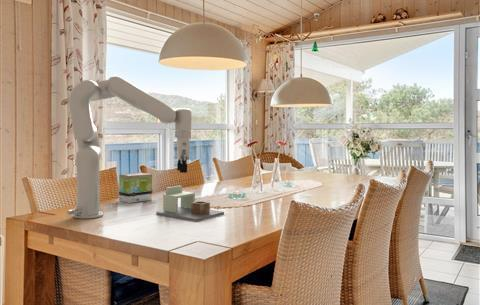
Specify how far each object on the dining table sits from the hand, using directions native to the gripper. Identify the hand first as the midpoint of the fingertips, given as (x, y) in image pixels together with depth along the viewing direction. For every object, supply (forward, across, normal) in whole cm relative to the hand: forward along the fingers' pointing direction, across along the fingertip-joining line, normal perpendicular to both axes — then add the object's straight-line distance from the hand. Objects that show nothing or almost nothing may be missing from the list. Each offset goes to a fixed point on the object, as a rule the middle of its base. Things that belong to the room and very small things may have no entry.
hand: (182, 171), depth 193 cm
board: (+20, -4, -4) cm, 20 cm away
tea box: (+20, +38, +20) cm, 47 cm away
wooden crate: (+18, -8, -8) cm, 22 cm away
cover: (+18, +1, +1) cm, 18 cm away
